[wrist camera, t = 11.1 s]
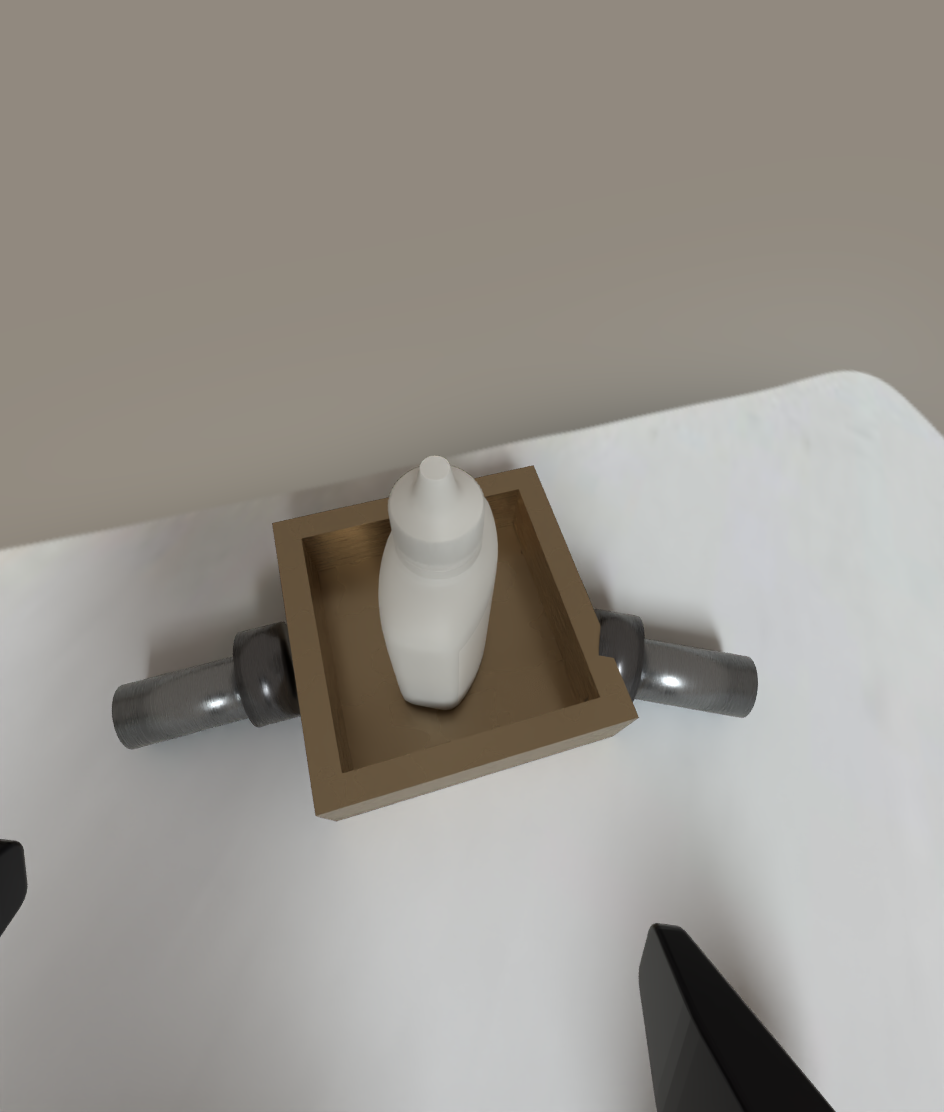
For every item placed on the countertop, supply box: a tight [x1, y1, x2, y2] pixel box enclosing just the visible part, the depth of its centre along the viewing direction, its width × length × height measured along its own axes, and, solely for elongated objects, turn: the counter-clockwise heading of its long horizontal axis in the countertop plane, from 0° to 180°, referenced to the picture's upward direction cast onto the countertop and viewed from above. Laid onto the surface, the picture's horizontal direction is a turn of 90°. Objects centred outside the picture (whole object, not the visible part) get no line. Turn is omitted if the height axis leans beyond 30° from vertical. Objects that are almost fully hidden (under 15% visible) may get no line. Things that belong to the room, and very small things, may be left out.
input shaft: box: [112, 622, 301, 749], centre depth 21 cm, size 6×4×4 cm, turn 106°
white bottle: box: [378, 455, 498, 710], centre depth 18 cm, size 4×6×12 cm
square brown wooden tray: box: [272, 465, 639, 821], centre depth 22 cm, size 11×11×4 cm
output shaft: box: [584, 609, 758, 718], centre depth 22 cm, size 6×4×4 cm, turn 80°
